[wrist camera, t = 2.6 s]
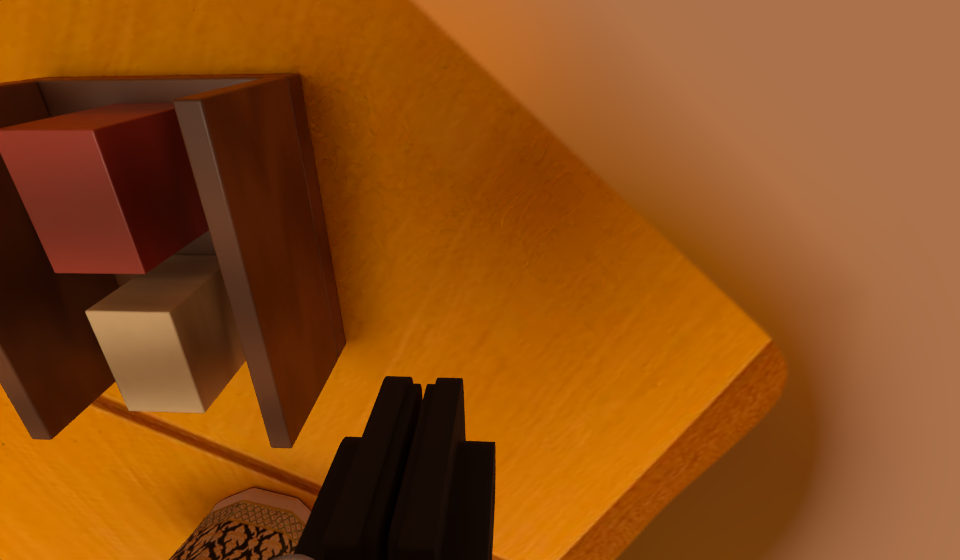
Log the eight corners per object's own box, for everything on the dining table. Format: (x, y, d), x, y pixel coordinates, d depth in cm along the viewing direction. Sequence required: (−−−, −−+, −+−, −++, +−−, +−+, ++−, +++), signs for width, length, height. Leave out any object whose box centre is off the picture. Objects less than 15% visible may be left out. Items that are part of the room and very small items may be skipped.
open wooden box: (44, 77, 19) (-163, 103, 13) (300, 73, 19) (200, 99, 13) (146, 340, 25) (31, 440, 19) (346, 344, 24) (291, 449, 18)
